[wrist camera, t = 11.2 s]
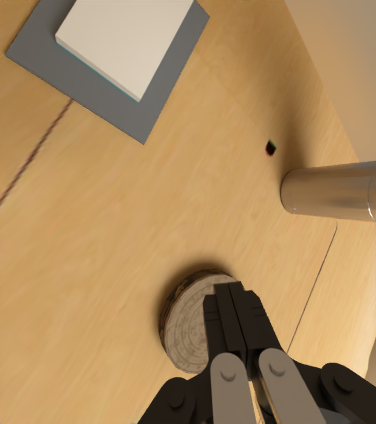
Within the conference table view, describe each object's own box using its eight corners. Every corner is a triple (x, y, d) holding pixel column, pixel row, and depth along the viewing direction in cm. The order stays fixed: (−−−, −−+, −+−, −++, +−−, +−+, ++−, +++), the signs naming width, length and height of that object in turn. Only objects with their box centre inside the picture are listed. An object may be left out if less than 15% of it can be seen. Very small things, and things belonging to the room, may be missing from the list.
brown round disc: (190, 253, 34) (200, 258, 31) (251, 288, 40) (263, 295, 38) (138, 347, 31) (143, 362, 28) (212, 368, 38) (222, 382, 35)
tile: (140, 99, 26) (193, 0, 28) (55, 35, 22) (125, -77, 24) (138, 103, 27) (188, 8, 29) (56, 44, 23) (122, -63, 25)
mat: (143, 144, 28) (144, 144, 28) (6, 56, 21) (4, 54, 21) (208, 18, 31) (210, 16, 31) (105, -96, 24) (106, -101, 24)
